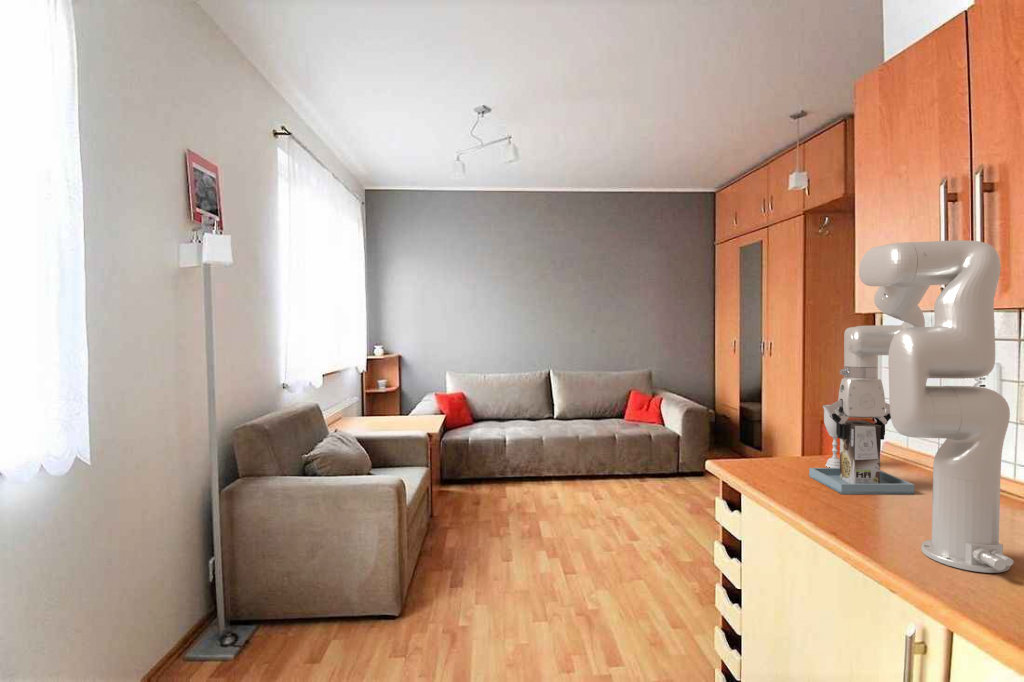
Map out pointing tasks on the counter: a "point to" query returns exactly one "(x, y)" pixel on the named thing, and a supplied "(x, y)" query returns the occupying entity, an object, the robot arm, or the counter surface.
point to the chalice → (831, 429)
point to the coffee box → (860, 453)
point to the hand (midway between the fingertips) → (860, 438)
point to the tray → (886, 486)
